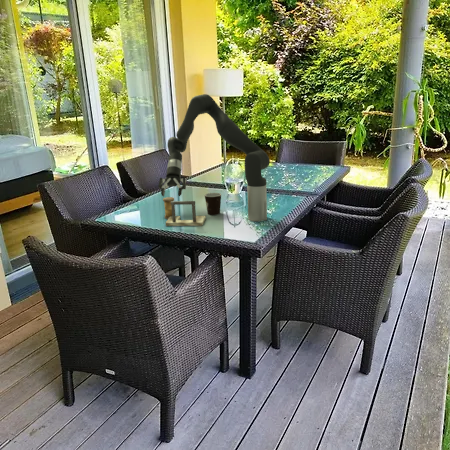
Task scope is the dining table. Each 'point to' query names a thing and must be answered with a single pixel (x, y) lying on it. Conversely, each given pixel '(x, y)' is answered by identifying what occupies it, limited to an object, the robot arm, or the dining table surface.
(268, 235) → the dining table surface
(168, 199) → the wooden knob
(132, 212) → the dining table surface
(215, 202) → the coffee mug
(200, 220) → the u-shaped handle base
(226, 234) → the dining table surface
